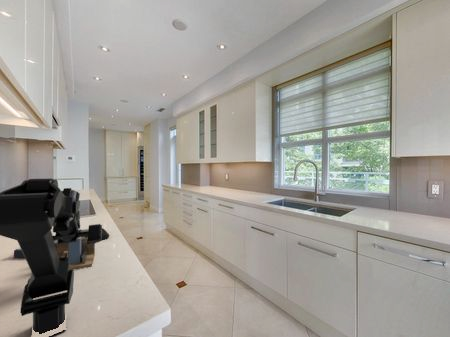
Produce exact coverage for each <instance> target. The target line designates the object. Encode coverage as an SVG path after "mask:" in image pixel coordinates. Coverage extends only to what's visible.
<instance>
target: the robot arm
mask: <svg viewBox="0 0 450 337" xmlns="http://www.w3.org/2000/svg"><path fill="white" fill-rule="evenodd" d="M80 197H81V196H80V192H78V191H76V190H73V189H72V187H70V188H69V187H65V188H63V190H61V189H60V187H59V183H58V180H57V179H54V178H48V177H47V178H29V179H25V180H23V182H21V183H20V184H19V185H15V186H14V187H10V188H8V189H5V190H3V191H1V192H0V236H1V237H5V238H8V239H12V240H14V241H16V242H17V243H18V246H19V248H21V250H22V252H23V254H24V257H25V258H24V259H25V261H26V263H27V265H28V267H29V270H30V272H31V275H30V278H28V281H27V282H26V284H25V285H24V289H23V292H22V297H21V304H20V315H21V317H23V316H25V315H29V314H30V315H31V314H32V325H33V330H34V331H35V332H39V334H42V333H45V332H47V331H50V330H53V329H56V328H58V327H59V325H60V324H62V323H63V322H64V320H65V313H66V305H69V304H70V303H71V299H72V297H73V294H74V280H75V279H74V278H75V270H71V266H70V263H69V258H68V257H62V258H59V257H58V254H57V246H56V244H55V243H58V244H65V243H72V242H77V238H78V237H81V238H86V236H88V238H87V246H90V245H91V244H94V243H95V244H97V243H100V242H101V241H102V240H101V237H102V228H103V225H102V224H101V223H97V224H89V225H88V228H85V229H81V223H80V222H81V215H80V212H81V211H80V207H81V200H80ZM79 229H81V230H79ZM53 233H55V235H53Z"/></svg>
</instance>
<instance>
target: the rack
mask: <svg viewBox="0 0 450 337" xmlns="http://www.w3.org/2000/svg"><path fill="white" fill-rule="evenodd" d="M55 244H56V246H57V254H58V257H59V258H62V257H68V243H65V244H58V243H55ZM95 245H96V243H94V244H91V245H90V246H87V238H86V237H81V261H80V263H76V264H71V265H70V266H71V270H74V269H76V270H79V269H78V268H81V269H85V268H84V267H86V268H90V267H89V266H91V267H93V265H94V264H93V263H94V259H95V256H96V255H95V252H96V251H95V250H96V248H95V247H96V246H95ZM92 264H93V265H92ZM74 271H75V270H74Z"/></svg>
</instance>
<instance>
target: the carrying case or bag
mask: <svg viewBox="0 0 450 337" xmlns="http://www.w3.org/2000/svg"><path fill="white" fill-rule="evenodd" d="M85 238H88V236H86V237H85ZM109 238H110V234H109V233H108V232H107V231H106V229H105V228H103V227H102V237H101V241H104V240H105V241H106V240H108V239H109Z"/></svg>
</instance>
